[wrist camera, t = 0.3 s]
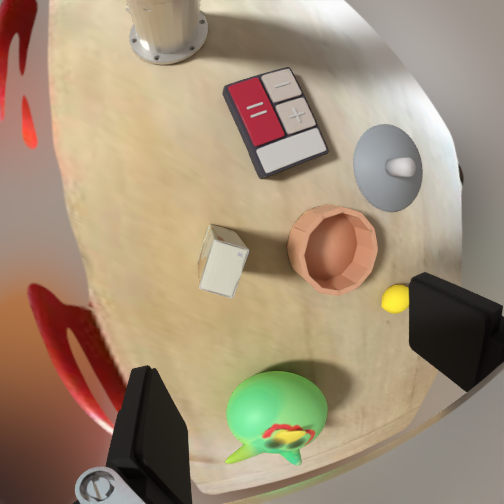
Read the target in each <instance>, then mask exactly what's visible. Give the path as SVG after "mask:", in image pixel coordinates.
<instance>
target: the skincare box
mask: <svg viewBox="0 0 504 504" xmlns="http://www.w3.org/2000/svg"><path fill="white" fill-rule="evenodd" d="M248 253H249V249H248V248H247V247H246V245H245V244H244V243H243V241H242V240H241V239H240V237H239V236H238V235H237V233H236V232H234V231H232V230H229V229H226V228H223V227H220V226H216V225H213V224H209V226H208V229H207V232H206V235H205V238H204V241H203V244H202V247H201V251H200V254H199V258H198V277H199V289H202V290H205V291H208V292H211V293H215V294H218V295H221V296H225V297H228V298H233V297H234V294H235V291H236V288H237V285H238V283H239V280H240V277H241V274H242V271H243V268H244V265H245V262H246V259H247V256H248Z"/></svg>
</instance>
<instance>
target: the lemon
mask: <svg viewBox="0 0 504 504" xmlns="http://www.w3.org/2000/svg"><path fill="white" fill-rule="evenodd" d="M381 305H382V308H383V309H385V310H386V311H388V312H390V313H393V314H396V313H401V312H402V311H404V310H405V309H407V308H408V306H409V288H408V287H406V286H404V285H393V286H391V287H389V288H388V289H387V290H386V291H385V292H384V294H383V297H382V304H381Z"/></svg>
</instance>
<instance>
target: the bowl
mask: <svg viewBox="0 0 504 504" xmlns="http://www.w3.org/2000/svg"><path fill="white" fill-rule="evenodd" d="M287 251H288V257H289V260H290V263H291V266H292V269H293V270H294V271H295V272H297V273H298V274H299V275H300V276H301V277H302V278H303V279H304V280H305V281H306V282H307V283H308V284H310V285H311V286H312V287H313V288H314V289H315V290H317V291H318V292H319V293H324V294H331V295H337V296H339V295H342V294H344V293H347V292H349V291H351V290H354V289H356V288H358V287H359V286H360V285H361V284H362V282H363V281H364V280H365V279H366V278H367V277H368V275H369V274H370V273H371V272H372V269H373V266H374V263H375V259H376V256H377V252H378V246H377V240H376V234H375V229H374V228H373V226H372V225H371V224H370V222H369V221H368V220H367V219H366V218H365V216H364V215H363V214H362V213H360V212H357V211H354V210H351V209H348V208H344V207H339V206H333V205H327V204H326V205H323V206H318V207H315V208H312V209H310V210H307V211H306V212H305V213H304V214H302V215H301V216H300V217H299V218H298V220H297V221H296V222H295V224H294V225H293V227H292V229H291V231H290V234H289V238H288V245H287Z"/></svg>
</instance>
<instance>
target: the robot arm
mask: <svg viewBox="0 0 504 504" xmlns="http://www.w3.org/2000/svg"><path fill="white" fill-rule="evenodd" d="M126 3H127V6H128V7H127V9H126V11H127V12H129V13H130V15H131V17H132V20H133V23H134V24H133V26H132V28H131V30H130V35H129V41H130V45H131V47H132V50H133V51H134V53H135V54H136V55H137V56H138V57H139V58H140V59H142V60H144V61H146V62H149V63H152V64H159V65H165V64H173V63H177V62H180V61H183V60H185V59H187V58H189V57H191V56H192V55H194V54H195V53H196V52H197V51H198V50H199V49H200V48H201V47H202V46H203V44H204V43H205V41H206V38H207V34H208V23H207V20H206V18H205V16H204V15H203V14H202V12H201V11H200V0H126ZM134 42H135V43H134ZM191 49H193V50H191ZM156 59H159V60H156ZM502 309H503V306H502V305H500V304H498V303H496V302H493V301H491V300H489V299H487V298H485V297H482V296H480V295H478V294H475V293H473V292H471V291H469V290H466V289H464V288H462V287H460V286H457V285H455V284H453V283H450V282H448V281H445V280H443V279H441V278H438V277H436V276H433V275H431V274H429V273H426V272H424V273H421V274H419V275H417V276H415V277H413V278H412V279H411V282H410V283H409V345H410V347H411V349H412V350H413V351H415V352H416V353H417V354H419V355H420V356H421V357H422V358H424V359H425V360H426V361H428V362H429V363H430V364H431V365H433V366H434V367H435V368H436V369H438V370H439V371H440V372H442V373H443V374H444V375H446V376H447V377H448V378H449V379H451V380H452V381H453V382H454V383H456V384H457V385H458V386H459V387H461V388H462V389H463V390H465V391H466V392H467V393H466V394H464V395H463V396H462V397H461V398H459V399H458V400H456V401H455V402H454V403H453V404H451V405H450V406H448V407H447V408H445V409H444V410H442V411H441V412H440V413H438V414H437V415H435V416H434V417H432V418H431V419H429V420H428V421H426V422H424V423H423V424H421V425H420V426H418V427H416V428H415V429H413V430H412V431H410V432H408V433H406V434H405V435H403V436H401V437H400V438H398V439H396V440H394V441H392V442H391V443H389V444H387V445H385V446H383V447H381V448H379V449H377V450H375V451H374V452H372V453H370V454H368V455H365V456H363V457H361V458H359V459H357V460H355V461H353V462H351V463H348V464H346V465H344V466H342V467H339V468H337V469H334V470H332V471H330V472H327V473H324V474H322V475H320V476H317V477H314V478H312V479H309V480H306V481H303V482H300V483H297V484H294V485H291V486H288V487H285V488H282V489H279V490H275V491H272V492H268V493H264V494H261V495H257V496H254V497H249V498H245V499H241V500H237V501H233V502H228V503H223V504H504V317H503V316H502ZM75 494H76V497H77V499H78V500H77V501H76V502H74V503H73V504H192V495H191V483H190V465H189V446H188V430H187V426H186V423H185V422H184V420H183V418H182V416H181V415H180V413H179V411H178V409H177V407H176V405H175V404H174V402H173V400H172V398H171V396H170V394H169V392H168V391H167V389H166V387H165V385H164V383H163V381H162V379H161V377H160V375H159V373H158V371H157V369H156V368H153V369H151V367H150V366H148V365H147V366H142V367H138V368H133V369H132V371H131V374H130V378H129V381H128V385H127V389H126V392H125V396H124V400H123V404H122V408H121V410H119V412H118V415H117V419H116V423H115V427H114V431H113V435H112V440H111V444H110V448H109V453H108V458H107V462H106V467H95V468H92V469H89V470H87V471H86V472H84V473H83V474H82V475H81V476H80V478H79V479H78V480H77V483H76V485H75Z"/></svg>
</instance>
